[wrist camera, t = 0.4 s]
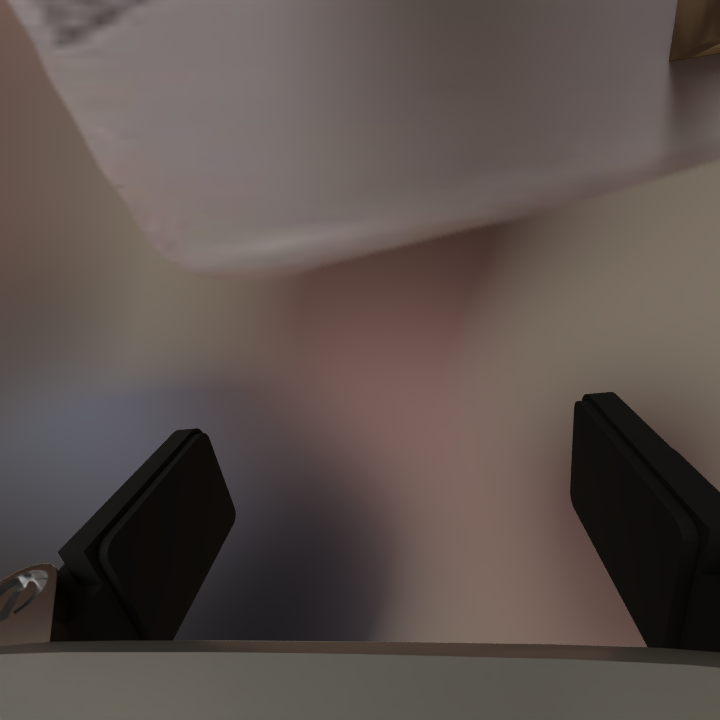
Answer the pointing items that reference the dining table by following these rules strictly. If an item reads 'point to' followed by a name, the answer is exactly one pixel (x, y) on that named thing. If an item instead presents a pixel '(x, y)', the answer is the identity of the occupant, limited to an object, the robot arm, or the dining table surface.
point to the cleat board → (696, 29)
